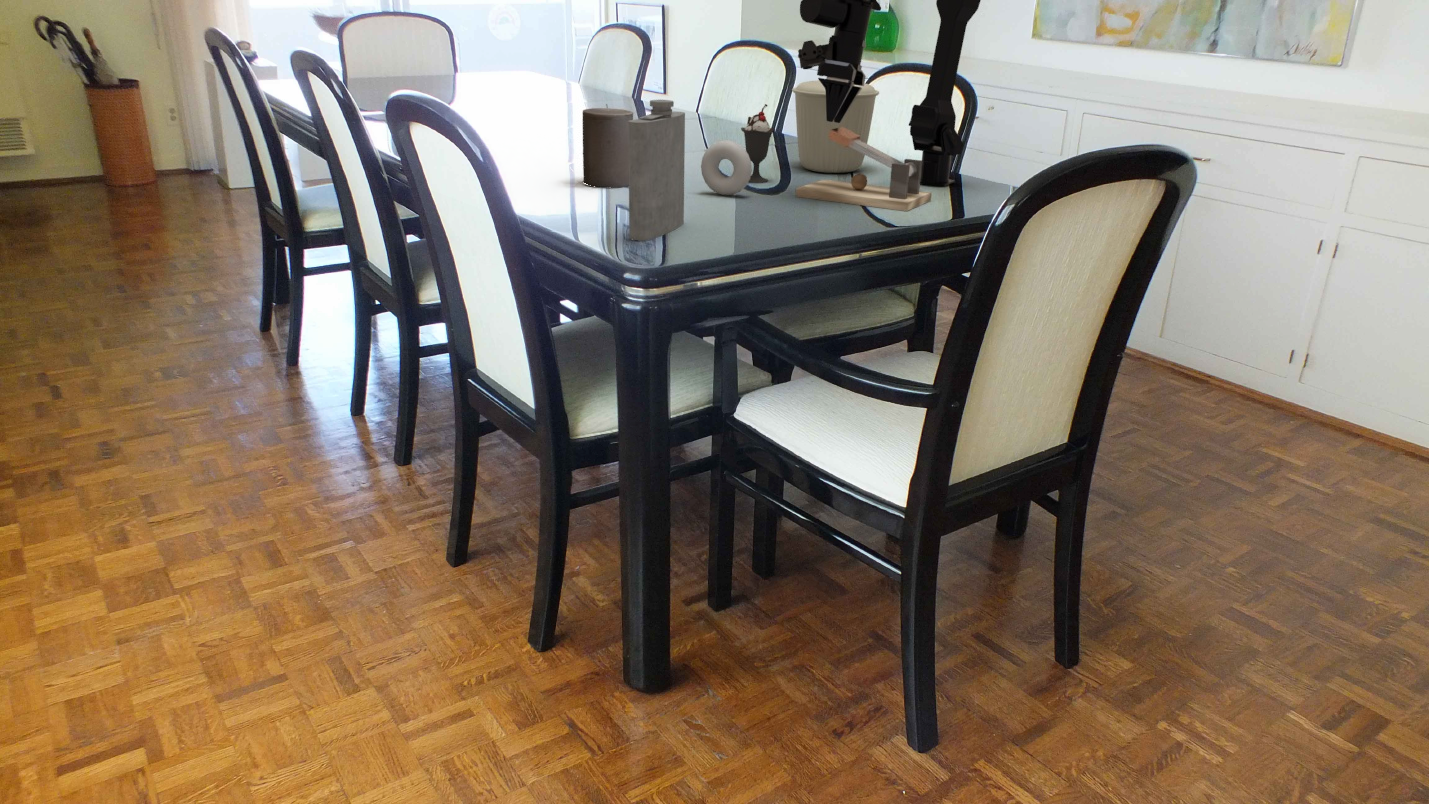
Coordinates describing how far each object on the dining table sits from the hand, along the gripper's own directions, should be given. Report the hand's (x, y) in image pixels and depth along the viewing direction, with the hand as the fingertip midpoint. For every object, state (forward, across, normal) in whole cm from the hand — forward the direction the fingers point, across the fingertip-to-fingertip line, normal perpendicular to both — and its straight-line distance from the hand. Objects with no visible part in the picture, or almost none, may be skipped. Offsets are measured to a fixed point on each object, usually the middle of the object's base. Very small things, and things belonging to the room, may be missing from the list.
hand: (833, 122), depth 190 cm
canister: (+10, -31, -3) cm, 33 cm away
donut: (+16, +5, -16) cm, 24 cm away
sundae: (+14, -12, -15) cm, 24 cm away
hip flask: (+21, +38, -18) cm, 47 cm away
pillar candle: (+19, +2, -40) cm, 45 cm away
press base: (+13, -1, +8) cm, 15 cm away
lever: (+5, 0, +8) cm, 10 cm away
